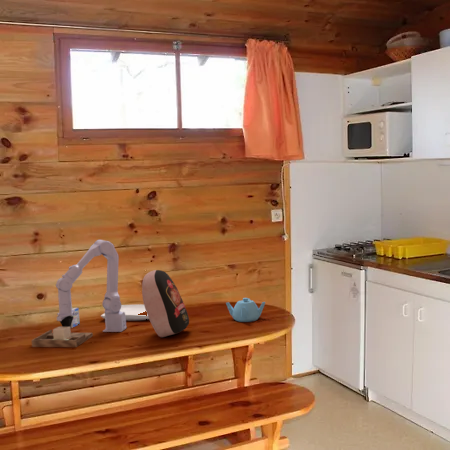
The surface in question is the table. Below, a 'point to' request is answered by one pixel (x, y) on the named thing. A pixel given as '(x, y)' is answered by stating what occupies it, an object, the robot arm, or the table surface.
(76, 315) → the medicine box
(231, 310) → the teapot
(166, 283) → the packaged food
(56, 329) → the cream block
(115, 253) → the robot arm
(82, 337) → the trap tray
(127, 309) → the square plate
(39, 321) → the table surface
